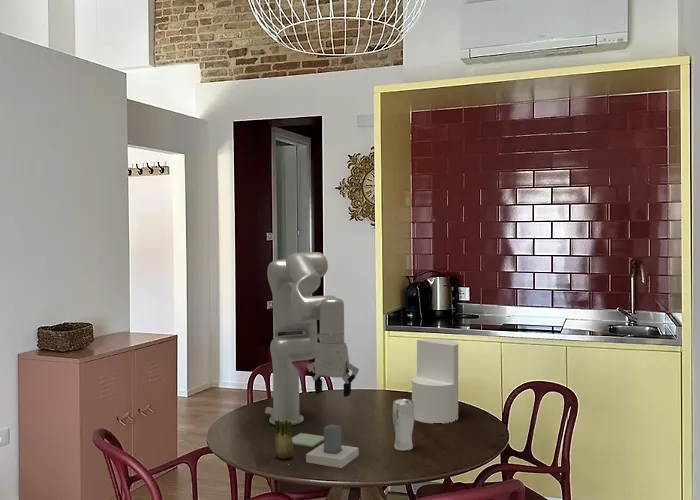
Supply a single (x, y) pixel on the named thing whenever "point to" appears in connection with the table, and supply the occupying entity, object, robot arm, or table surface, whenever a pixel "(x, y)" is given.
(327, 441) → the slate plug
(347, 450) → the white square hole board
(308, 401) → the table surface
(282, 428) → the fennel bulb
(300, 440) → the sage mat
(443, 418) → the grey stepped cylindrical piece
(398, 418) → the beer glass
